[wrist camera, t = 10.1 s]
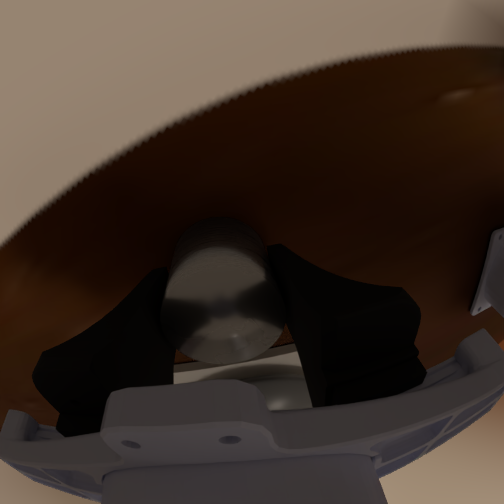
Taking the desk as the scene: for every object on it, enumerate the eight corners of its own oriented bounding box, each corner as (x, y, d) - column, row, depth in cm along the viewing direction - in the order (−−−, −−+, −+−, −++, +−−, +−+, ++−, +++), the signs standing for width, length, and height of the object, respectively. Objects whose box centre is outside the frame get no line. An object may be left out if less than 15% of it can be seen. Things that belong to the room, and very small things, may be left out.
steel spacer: (265, 214, 13) (289, 263, 9) (265, 294, 15) (282, 358, 11) (168, 220, 12) (147, 273, 8) (181, 300, 14) (173, 366, 10)
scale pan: (339, 347, 16) (346, 361, 15) (331, 425, 22) (334, 436, 21) (137, 382, 16) (135, 398, 15) (193, 449, 21) (193, 460, 20)
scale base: (342, 330, 17) (346, 338, 16) (333, 419, 23) (335, 424, 22) (144, 367, 17) (143, 375, 16) (200, 443, 22) (200, 449, 22)
